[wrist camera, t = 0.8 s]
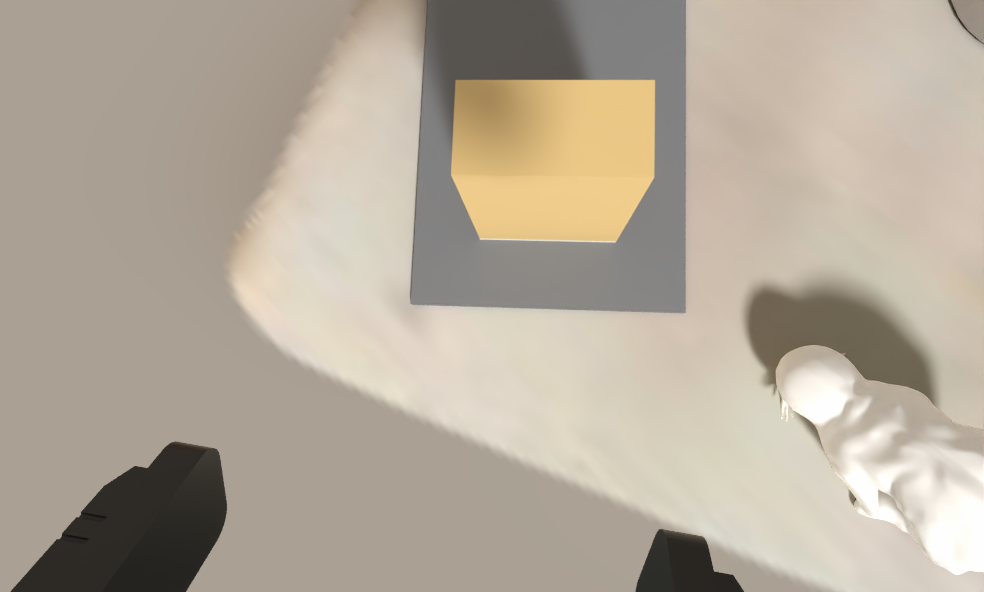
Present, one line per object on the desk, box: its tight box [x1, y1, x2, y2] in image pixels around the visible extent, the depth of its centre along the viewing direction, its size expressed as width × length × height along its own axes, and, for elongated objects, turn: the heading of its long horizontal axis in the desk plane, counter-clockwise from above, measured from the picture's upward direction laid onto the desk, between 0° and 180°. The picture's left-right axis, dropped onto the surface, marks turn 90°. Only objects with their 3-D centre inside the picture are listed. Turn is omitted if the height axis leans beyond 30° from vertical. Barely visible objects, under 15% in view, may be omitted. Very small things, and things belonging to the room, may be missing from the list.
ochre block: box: [451, 80, 655, 242], centre depth 30 cm, size 8×4×12 cm, turn 88°
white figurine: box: [776, 345, 984, 575], centre depth 30 cm, size 6×8×12 cm
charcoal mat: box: [411, 0, 686, 313], centre depth 37 cm, size 16×24×1 cm, turn 178°
